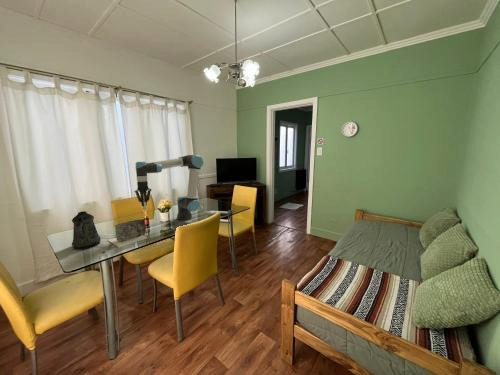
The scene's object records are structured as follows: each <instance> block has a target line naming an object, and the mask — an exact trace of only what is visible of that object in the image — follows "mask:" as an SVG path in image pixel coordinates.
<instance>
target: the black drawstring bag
mask: <svg viewBox="0 0 500 375" xmlns="http://www.w3.org/2000/svg"><path fill="white" fill-rule="evenodd" d="M94 220H95V216H94V215H93V214H90V213H88V212H87V211H85V210H84V211H83V210H82V211H78V213H77V215H76V214H75V216H74V217H73V218H72V219H71V222H72V223H73V229H72V230H73V234H72V235H73V236H72V242H71V246H72V248H73V250H75V249H76V251H80V250H88V249H92V248H95V247H97V246H99V245H100V244H101V241H102V240H101V236H100V234H99V233H98V230H97V228H96V225H95V221H94Z"/></svg>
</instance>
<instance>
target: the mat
mask: <svg viewBox="0 0 500 375" xmlns="http://www.w3.org/2000/svg"><path fill="white" fill-rule="evenodd" d="M149 238H150V236H148V235H146V234H144V235H141V236H138V237H135V238H132V239H130V240H126V241H124V242H119V241H118V240H117V239H116V237H114V238H111V239H110V238H109V239H107V242H109V243H110V244H112V245H114V246H115V247H117V248H118V249H119V248H122V247H126V246H128V245H132V244H134V243H137V242H141V241H143V240H147V239H149Z"/></svg>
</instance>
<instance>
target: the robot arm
mask: <svg viewBox="0 0 500 375" xmlns="http://www.w3.org/2000/svg"><path fill="white" fill-rule="evenodd" d="M203 165H204V159H203V157H202V156H201V155H199V154H188V155H187V154H186V155H183V156H178V158H173V159H172V158H171V159H166V160H157V161H152V162H146V161H136V162H135V173H136V181H137V182H136V183H137V185H136V186H137V188H136V190H134V191H133V192H134V194H136V198H137V201H138V202H139V203H141V207H142V210H143V211H147V206H148V201H149V200H150V197H151V192H152V188H150V187H149V182H148V174H158V173H162V171H163V170H165V169H173V168H177V167H179V168H180V167H181V168H183V167H184V168H185V167H187V169H188V171H189V173H188V183H187V184H188V185H187V194H186V195H183V196H178V197H177V200H176V201H177V215H176V220H177V219H178V220H177V221H181V220H184V221H190V220H191V218H192V219H193V214H192V213H193V212H197V211H198V210H199V208H200V206H201V203H200V201H199V197H198V195H197V194H198V184H199V172H200V171H201V168H202V167H203Z"/></svg>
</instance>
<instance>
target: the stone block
mask: <svg viewBox="0 0 500 375" xmlns="http://www.w3.org/2000/svg"><path fill="white" fill-rule="evenodd" d="M146 234H147V232H146V220H145V219H144V218H142V219H134V220H130V221H126V222H121V223H118V224H116V225H115V238H116V239H117V240H118V241H119V242H124V241H126V240H130V239H132V238H135V237H138V236H141V235H146Z"/></svg>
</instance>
